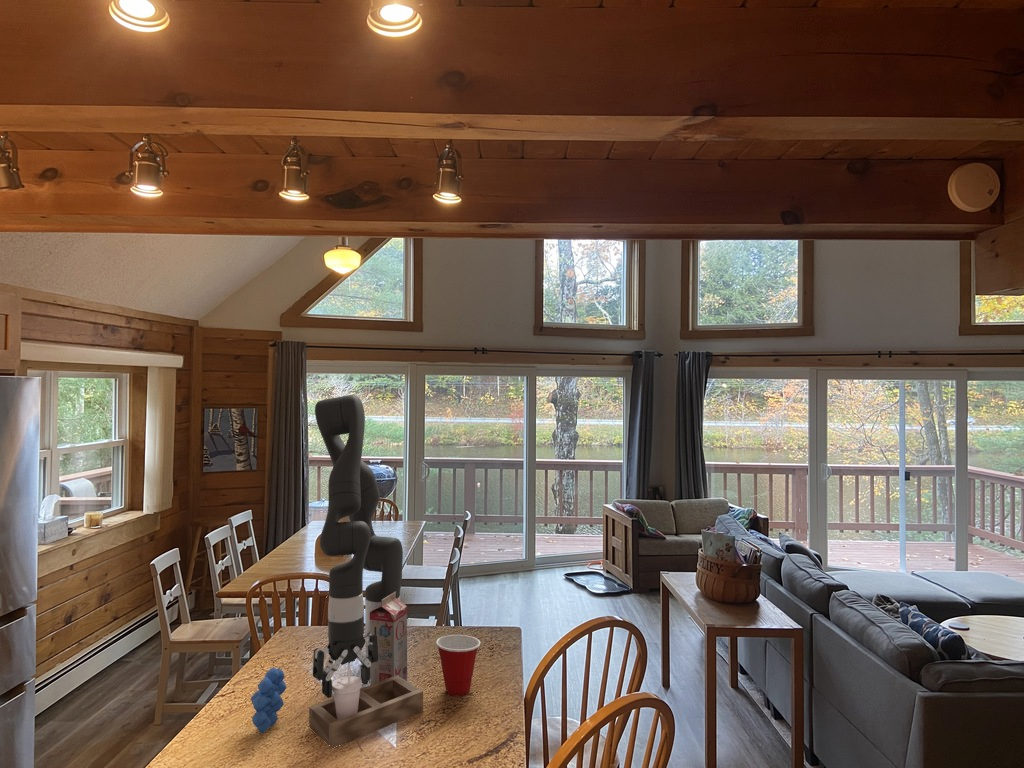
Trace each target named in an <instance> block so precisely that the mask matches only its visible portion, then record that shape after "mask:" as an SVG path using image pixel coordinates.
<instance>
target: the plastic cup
mask: <svg viewBox="0 0 1024 768" xmlns="http://www.w3.org/2000/svg"><path fill="white" fill-rule="evenodd" d="M435 642H436V646H437V648H438V653H439V657H440V663H441V670H442V677H443V679H444V680H443V681H444V686H445V690H446V693H447V694H448V695H451V696H453V697H454V696H456V697H458V696H465V695H466V694H468V693H469V692H470V691H471V687H472V679H473V676H474V669H475V663H476V657H477V654H478V650H479V647H480V645H481V643H482V642H481V641H480V639H479V638H477V637H474V636H471V635H465V634H449V635H443V636H441V637H439V638H437V640H436V641H435Z"/></svg>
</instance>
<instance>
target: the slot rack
mask: <svg viewBox="0 0 1024 768" xmlns="http://www.w3.org/2000/svg"><path fill="white" fill-rule="evenodd" d="M422 712H424V690H422V689H420V688H419V687H417V686H416V685H414V684H413V683H411V682H410V681H408V680H407V681H406V680H404V679H403V678H401V677H399V676H398V675H396V676H393V677H391V678H388V679H385V680H382V681H379V682H377V683H374V684H371V685H370V684H369V685H368V684H367V685H365V686H363V687H361V688H360V695H359V704H358V712H357V713H356V714H353V715H351V716H348V717H346V718H343V719H340V720H337V715H336V708H335V700H334V697H333V698H332V697H331V698H329V699H327V700H325V701H324V700H323V701H321V702H318V703H316V704H313V705H310V706H308V719H309V720H308V722H309V723H308V727H310V728H311V729H312V730H313V731H314V732H315V733H316V735H317V736H318V738H319V739H321V740H322V741H323V742H324V741H325V742H326V743H327V744H328V745H330V746H331V747H332V748H334V747H336V746H339V745H341V746H343V744H344V745H346V744H348V743H350V742H353V741H355V740H358V739H359V738H363V737H364V736H367V735H369V734H372V733H374V732H377V731H379V730H381V729H384V728H386V727H388V726H391V725H393V724H396V723H398V722H401V721H403V720H405V719H408V718H410V717H413V716H415V715H417V714H420V713H422ZM310 728H309V729H310ZM311 729H310V730H311ZM312 730H311V731H312ZM313 731H312V732H313ZM314 732H313V733H314ZM315 733H314V734H315ZM325 742H324V743H325ZM326 743H325V744H326ZM345 743H346V744H345ZM327 744H326V745H327ZM328 745H327V746H328ZM330 746H329V747H330ZM331 747H330V748H331ZM339 747H340V746H339ZM332 748H331V749H332ZM336 748H337V747H336ZM334 749H335V748H334Z"/></svg>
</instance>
